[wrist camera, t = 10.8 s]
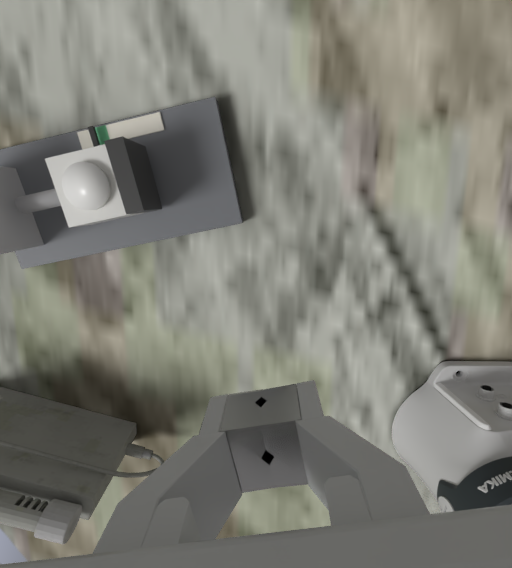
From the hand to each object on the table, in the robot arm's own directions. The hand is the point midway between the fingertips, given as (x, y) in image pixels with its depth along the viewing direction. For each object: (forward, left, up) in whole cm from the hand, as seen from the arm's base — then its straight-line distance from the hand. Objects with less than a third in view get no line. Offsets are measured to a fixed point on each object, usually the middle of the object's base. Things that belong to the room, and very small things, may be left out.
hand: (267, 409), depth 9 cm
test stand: (+15, -10, -27) cm, 32 cm away
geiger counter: (+28, +16, -27) cm, 42 cm away
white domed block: (+16, -11, -25) cm, 31 cm away
